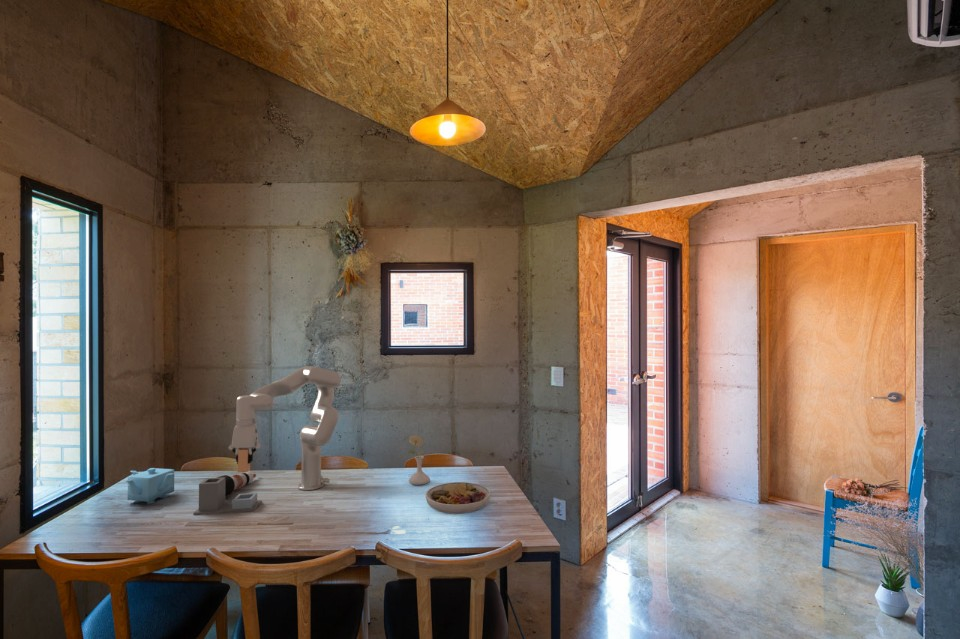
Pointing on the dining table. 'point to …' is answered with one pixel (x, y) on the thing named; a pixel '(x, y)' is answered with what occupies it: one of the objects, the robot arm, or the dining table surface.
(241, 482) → the cable
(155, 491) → the teakettle
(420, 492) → the dining table surface
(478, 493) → the bowl
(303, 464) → the robot arm
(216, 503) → the socket stand
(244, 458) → the peg
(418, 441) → the flower in vase
